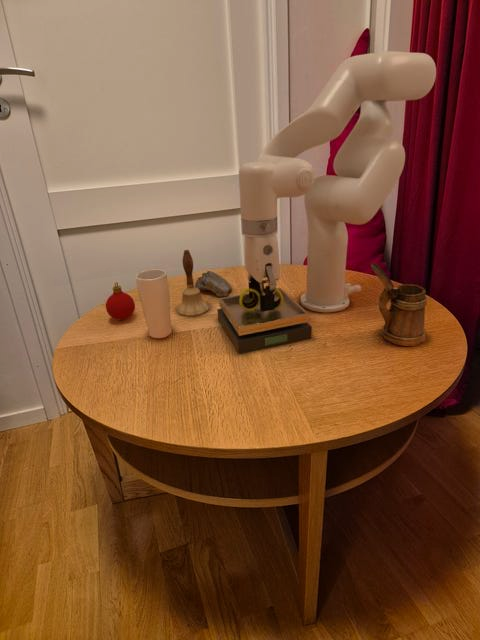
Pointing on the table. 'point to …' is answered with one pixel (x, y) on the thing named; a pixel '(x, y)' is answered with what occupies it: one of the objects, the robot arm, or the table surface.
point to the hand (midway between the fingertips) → (261, 303)
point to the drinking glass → (155, 301)
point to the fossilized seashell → (213, 284)
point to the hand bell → (191, 292)
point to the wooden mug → (402, 311)
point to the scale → (264, 335)
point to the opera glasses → (257, 300)
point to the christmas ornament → (120, 304)
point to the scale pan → (262, 314)
